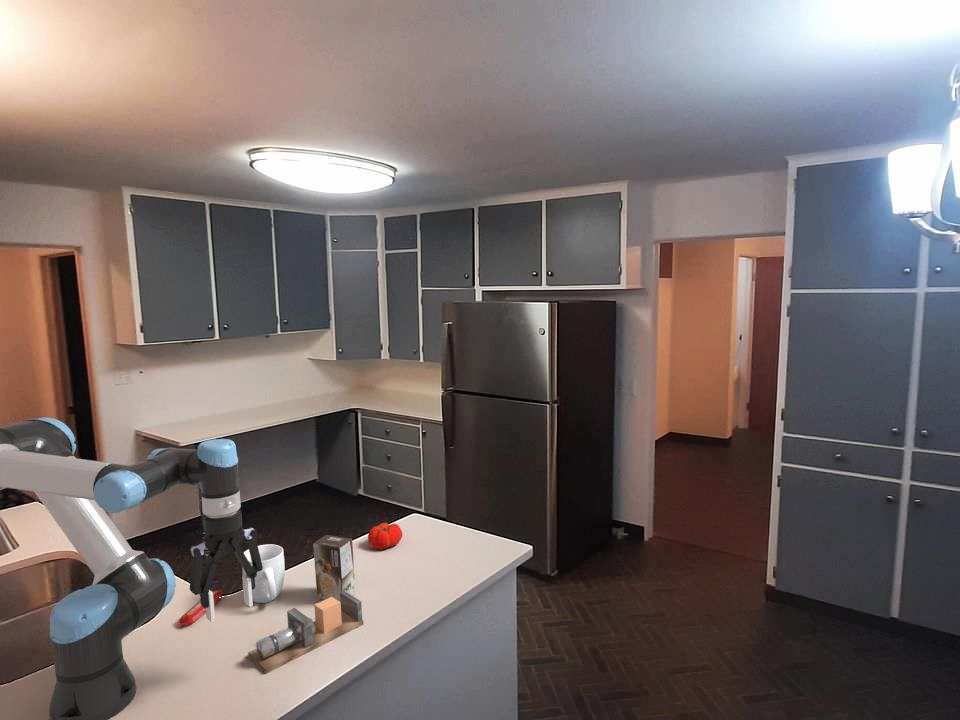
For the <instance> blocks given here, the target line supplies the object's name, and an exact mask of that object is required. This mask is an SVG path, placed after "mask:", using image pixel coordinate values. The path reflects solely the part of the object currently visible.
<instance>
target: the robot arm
mask: <svg viewBox="0 0 960 720" xmlns="http://www.w3.org/2000/svg"><path fill="white" fill-rule="evenodd" d="M75 442H76V438H75V435H74V433H73V432H72V430H71V428H69V426H68V425H66V424H65V423H63V422H62V421H61V420H58V419H56V418H53V417H46V416H45V417H39V418H28V419H26V420H22V421H19V422H16V423H11V424H7V425H3V426H0V491H2V490H5V489H16V490H22V491H28V492H34V494H35V495H36V496H37V497H38V499H39V500H40V502H41V503H42V505H43V506H44V507H45V509H46V510H47V512H48V513H49V514H50V515H51V517H52V518H53V519H54V521H55V523H56V524H57V526H58V527H59V528H60V530H61V531H62V532H63V533H64V535H65V536H66V538H67V539H68V541H69V542H70V544H71V545H72V546H73V548H74V549H75V550H76V552H77V553H78V554H79V555H80V557H81V558H82V560H83V561H84V563H85V564H86V566H87V567H88V568H89V570H90V571H91V572H92V574H93V575H94V577H93V581H92V584H91V585H89V586H88V585H87V586H85V588H83V589H81V588H79V589H77V590H74V591H73V592H70V593H69V594H67V595H66V596H64V597H63V598H62V599H61V600H59V601H58V602H57V603H56V605H55V606H54V607H53V608H52V609H51V613H50V615H49V629H48V630H49V631H48V632H49V633H48V634H49V638H50V641H51V648H52V654H53V664H54V665H53V666H54V671H55V672H54V673H55V680H56V681H55V684H54V687H53V692H52V696H51V699H50V703H49V707H48V714H49V720H109V719H111V718H113V717H114V716H116V715H117V714H119V713H120V712H121V711H123V710H124V709H125V708H126V707H127V706H128V705H130V703H132V701H133V699H134V698H135V696H136V693H137V683H136V679H135V676H134V674H133V672H132V670H131V669H130V668H129V666H128V665H129V664H127V662H126V660H125V659H124V658H125V657H124V653H123V643H122V640H123V639H124V638H126V637H127V636H129V635H130V633H133V632H134V631H135V630H136V629H138V628H139V627H140V626H142V625H143V624H144V623H146V622H147V621H149V620H150V619H152V618H153V617H155V616H157V615H158V614H160V613H161V611H162V610H163V609H165V607H167V606H168V605H169V604H170V603H171V601H172V599H173V598H174V595H175V594H176V593H175V592H176V591H175V590H176V577H175V574H174V570H173V569H172V568H171V566H170V565H169V564H168V563H167V562H166V561H164V560H160V558H157V557H156V558H155V557H153V558H149V557H148V556H147V554H146V553H145V552H144V551H141V550H134V549H133V548H132V547H131V546H130V544H129V542H128V541H127V540H126V539H125V537H124V535H123V534H122V533H121V532H120V530H119V529H118V528H117V525H115V524H114V521H112V519H111V518H110V516H109V515H108V514H107V513H110V514H118V513H121V512H123V511H126V510H130V509H134V508H135V507H137V506H138V505H140V504H142V503H144V502H146V501H148V500H150V499H153V498H155V497H157V496H158V495H161V494H162V493H165V492H168V491H169V490H171V489H173V488H175V487H178V486H180V485H183V486H185V485H186V486H188V485H189V486H199V487H200V493H201V505H202V507H201V508H202V514H203V515H204V516H203V517H202V518H203V519H202V520H203V521H202V522H203V532H204V538H203V541H202V543H199V544H198V545H193V544H192V545H191V546H190V547H189V552H190V556H191V566H190V579H189V580H190V581H189V591H190V592H191V593H192V594H193V595H195V596H198V595H199V599H200V600H201V605H202V607H203V608H204V609H205V608H206V612H205V615H206V619H207V620H209V622H210V623H211V624H212V623H214V622H216V617H215V616H216V615H215V613H216V612H215V604H214V600H213V591H212V590H210V589H211V586H212V582H213V579H214V576H215V573H216V570H217V566H218V563H219V562H220V561H221V557H224V556H226V555H228V554H234V556H235V557H236V559H237V561H238V563H239V564H240V566H241V568H242V567H243V569H244V571H245V572H246V574H245V575H243V574H242V577H241V578H242V592H243V601H244V602H243V603H244V604H245V605H246V606H248V608H251V607H253V605H254V603H253V602H254V601H253V600H252V590H253V589H255V577H256V576H257V572H258V571H261V570H262V569H263V566H262V562H261V558H260V553H259V549H258V546H259V545H258V542H257V538H258V531H257V530H256V529H254V528H253V527H251V526H250V527H248V528H247V529H243V517H242V516H243V515H242V510H241V507H242V505H241V491H240V485H239V457H238V453H237V445H236V444H235V442H234V440H232V439H228V438H218V439H208V440H205V441H202V442H201V443H199V444H198V446H197V449H194V448H193V449H190V448H176V447H174V448H173V447H166V448H156V449H154V450H152V451H151V452H150V454H149V455H148V456H146V458H145V460H143V461H142V460H141V461H139V462H137V463H134V464H118V463H112V462H106V461H105V462H104V461H98V460H91V459H84V458H83V459H82V458H77V457H76V456H75V452H76V449H77V444H76V443H75ZM244 538H245V539H246V543H247V547H248V549H249V552H250V556H251V561H252V565H253V566H251V565H250V563H249V561H248V559H247V558H246V556H245V554H244V550H243V548H242V547H241V545H240V544H241V543H242V540H243V539H244ZM205 549H207V550H208V554H207V560H206V563H205V568H204V571H203V573H202V569H203V555H204V554H205V553H204V552H205ZM200 600H199V601H200Z"/></svg>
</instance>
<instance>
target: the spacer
mask: <svg viewBox="0 0 960 720" xmlns="http://www.w3.org/2000/svg"><path fill="white" fill-rule="evenodd" d="M313 605H314V608H313V609H314V619H315V620H314V621H315V624H316V628H318V629H319V630H320V631H322V632H323V633H326V632H328V631H330V630H332V629H334V628H336V627H338V626H340V625H342V620H341V602H339V601H338V600H336V599H335V598H333V597H330V598H328V599H326V600H324V599H323V600H321V601H319V602H318V603H315V604H313Z"/></svg>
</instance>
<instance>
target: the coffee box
mask: <svg viewBox="0 0 960 720" xmlns="http://www.w3.org/2000/svg"><path fill="white" fill-rule="evenodd" d="M312 545H313V558H314V570H315V573H314V574H315V585H316V586H315V587H316V599H320V600H323V601H324V600H326V599H328V598H330V597H333V598H335V599H336V600H338V601H339V602H340V592H342V591H345V592H347V593H349V594H350V595H352V596H353V597H354V595H355V594H356V581H355V579H356V578H355V565H354V550H353V539H352V538H349V537H344V536H343V537H341V536H337V535H329V534H325V535H323V536H321V538H319V539H318V540H317V541H315V542H313V544H312Z"/></svg>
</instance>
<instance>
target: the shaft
mask: <svg viewBox="0 0 960 720" xmlns="http://www.w3.org/2000/svg"><path fill="white" fill-rule="evenodd" d="M308 618H309V619H311V621H312V635H314V634H315V631H316V629H315V624H314V620H313V619H312V617H308ZM301 640H302V637H301V626H300V625H299V624H298V623H297V624H295V625H292V626H290V627H288V626H287V627H286V628H284V629H282V630H280V631H277V632H275V633H273V634H270V635H268V636H266V637H264V638H262V639H260V640H258V641H257V642H256V643H255V649H257V653H258V655H259V657H260V658H261V659H264V658H266V657H268V656H270V655H272V654H275V653H277V652H279V651H281V650H283V649H285V648H287V647H289V646H291V645H293V644H295V643H297V642H299V641H301Z"/></svg>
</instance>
